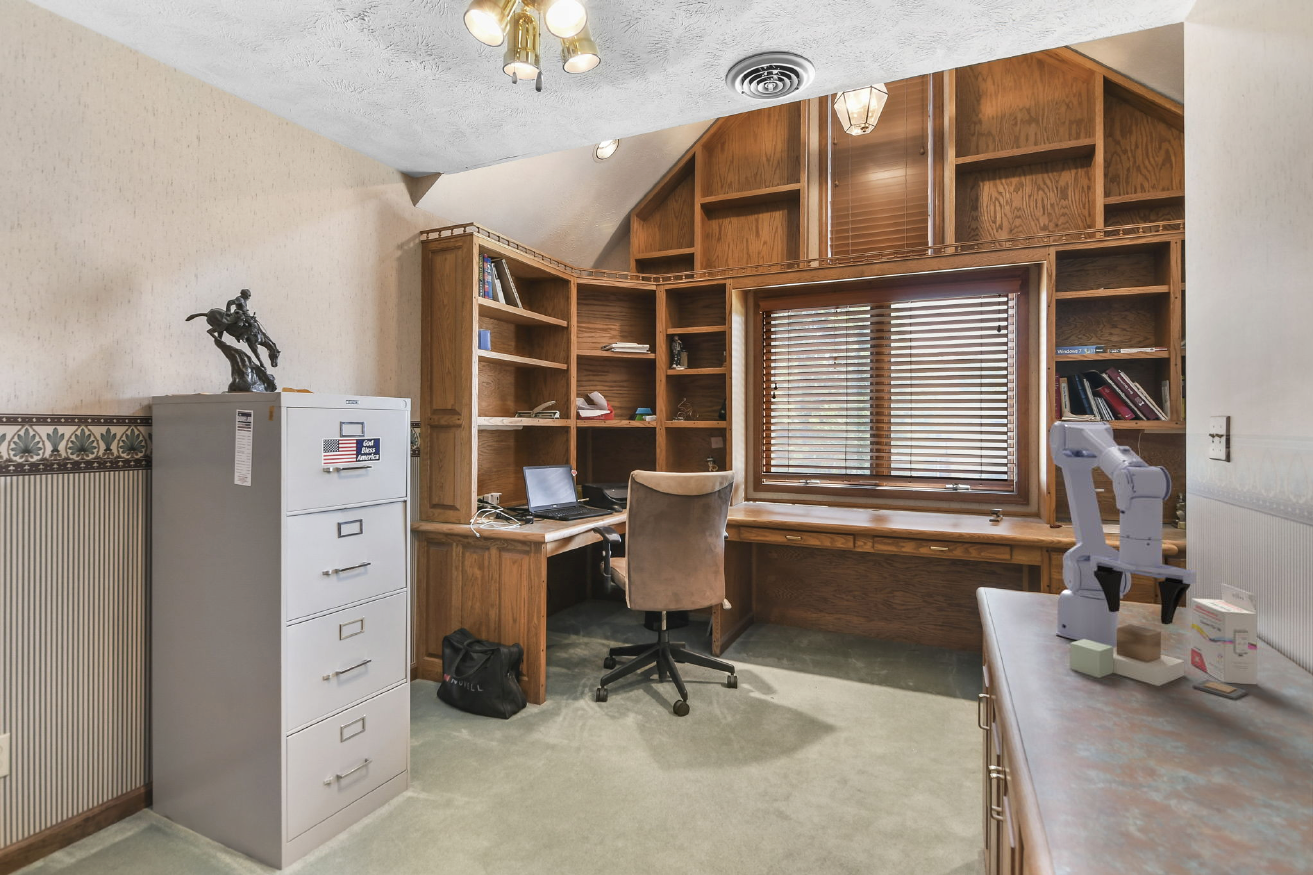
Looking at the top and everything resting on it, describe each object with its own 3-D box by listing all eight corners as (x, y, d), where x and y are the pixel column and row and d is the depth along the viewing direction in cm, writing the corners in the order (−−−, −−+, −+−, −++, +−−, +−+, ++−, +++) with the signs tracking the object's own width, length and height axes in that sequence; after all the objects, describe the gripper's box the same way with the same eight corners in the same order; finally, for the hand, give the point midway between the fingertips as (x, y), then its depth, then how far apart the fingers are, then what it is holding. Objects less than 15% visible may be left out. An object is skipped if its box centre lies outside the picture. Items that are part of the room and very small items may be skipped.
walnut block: (1116, 653, 105) (1116, 627, 105) (1129, 649, 107) (1130, 624, 107) (1147, 662, 101) (1147, 635, 101) (1160, 658, 103) (1160, 631, 103)
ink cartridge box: (1188, 663, 108) (1189, 580, 108) (1221, 666, 107) (1222, 582, 107) (1222, 683, 99) (1223, 592, 99) (1258, 685, 98) (1259, 594, 98)
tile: (1192, 687, 97) (1192, 683, 97) (1206, 681, 100) (1206, 678, 100) (1234, 699, 93) (1234, 695, 93) (1247, 693, 95) (1247, 689, 95)
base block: (1095, 669, 106) (1096, 652, 106) (1121, 660, 110) (1122, 644, 110) (1158, 688, 98) (1158, 670, 98) (1183, 678, 102) (1184, 660, 102)
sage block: (1069, 669, 105) (1070, 642, 105) (1083, 664, 107) (1084, 638, 107) (1099, 678, 101) (1099, 651, 101) (1113, 673, 103) (1113, 646, 103)
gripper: (1081, 532, 108) (1080, 609, 108) (1182, 546, 96) (1181, 632, 96) (1102, 530, 112) (1101, 604, 112) (1202, 542, 99) (1201, 626, 99)
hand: (1139, 617), depth 104 cm, fingers open, 7 cm apart
